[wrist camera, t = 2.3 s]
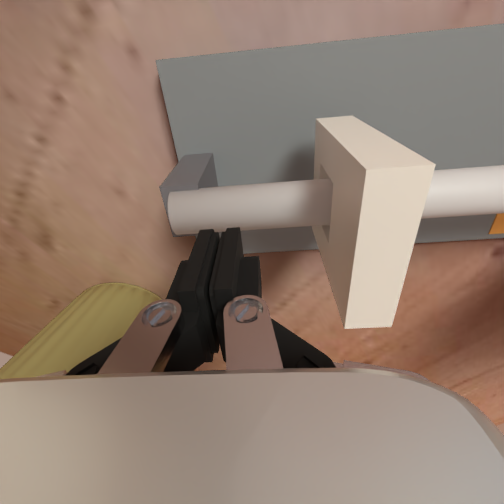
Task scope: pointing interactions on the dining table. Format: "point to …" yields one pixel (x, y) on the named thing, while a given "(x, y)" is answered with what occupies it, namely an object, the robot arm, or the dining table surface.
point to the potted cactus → (80, 330)
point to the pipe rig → (334, 105)
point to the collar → (368, 216)
